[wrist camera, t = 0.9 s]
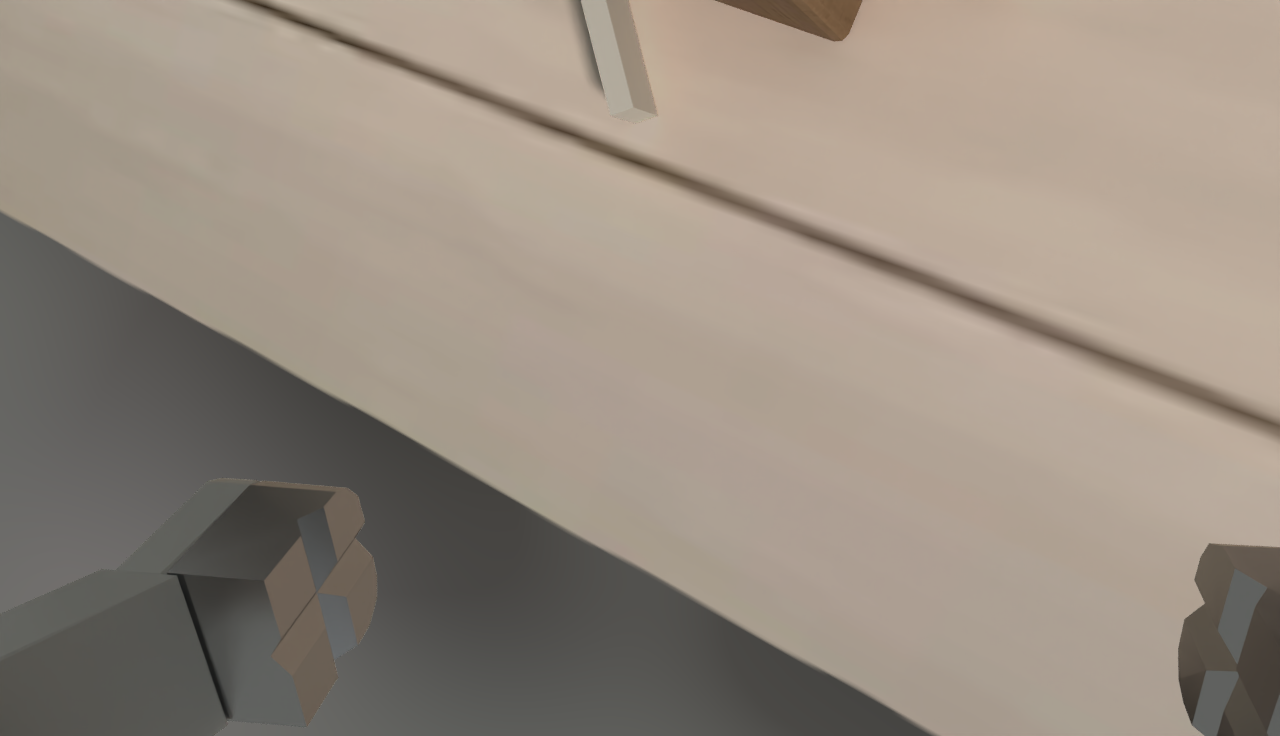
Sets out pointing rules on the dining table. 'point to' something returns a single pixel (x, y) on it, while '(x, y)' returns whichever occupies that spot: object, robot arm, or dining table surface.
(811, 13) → the wooden block
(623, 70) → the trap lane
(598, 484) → the dining table surface
